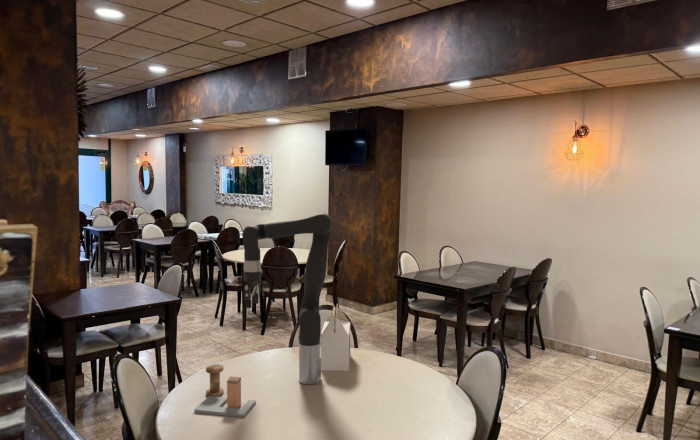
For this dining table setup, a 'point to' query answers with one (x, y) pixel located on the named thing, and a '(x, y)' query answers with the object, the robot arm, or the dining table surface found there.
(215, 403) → the notched board
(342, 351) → the gable box
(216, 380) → the bobbin
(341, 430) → the dining table surface
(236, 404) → the orange tall block
